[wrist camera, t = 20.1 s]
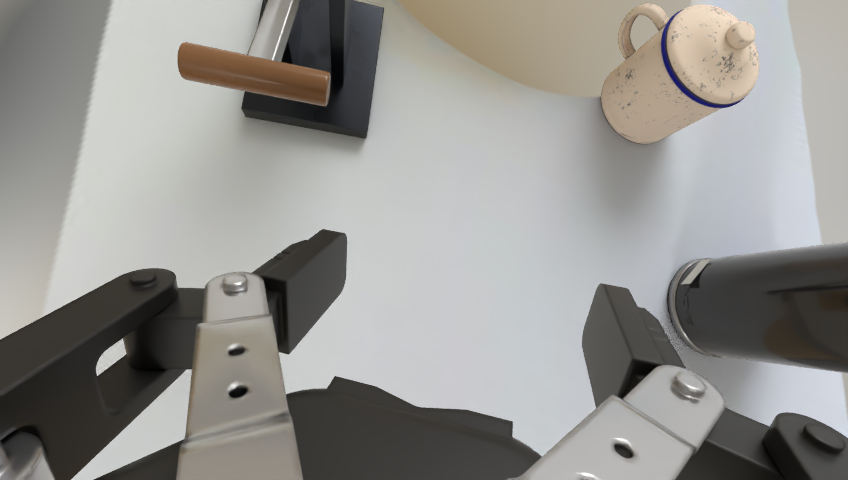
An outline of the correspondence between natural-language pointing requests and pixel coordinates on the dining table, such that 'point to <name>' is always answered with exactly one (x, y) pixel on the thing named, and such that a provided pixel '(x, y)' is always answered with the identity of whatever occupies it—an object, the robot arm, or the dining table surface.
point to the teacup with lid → (679, 71)
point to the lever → (259, 62)
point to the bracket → (328, 66)
